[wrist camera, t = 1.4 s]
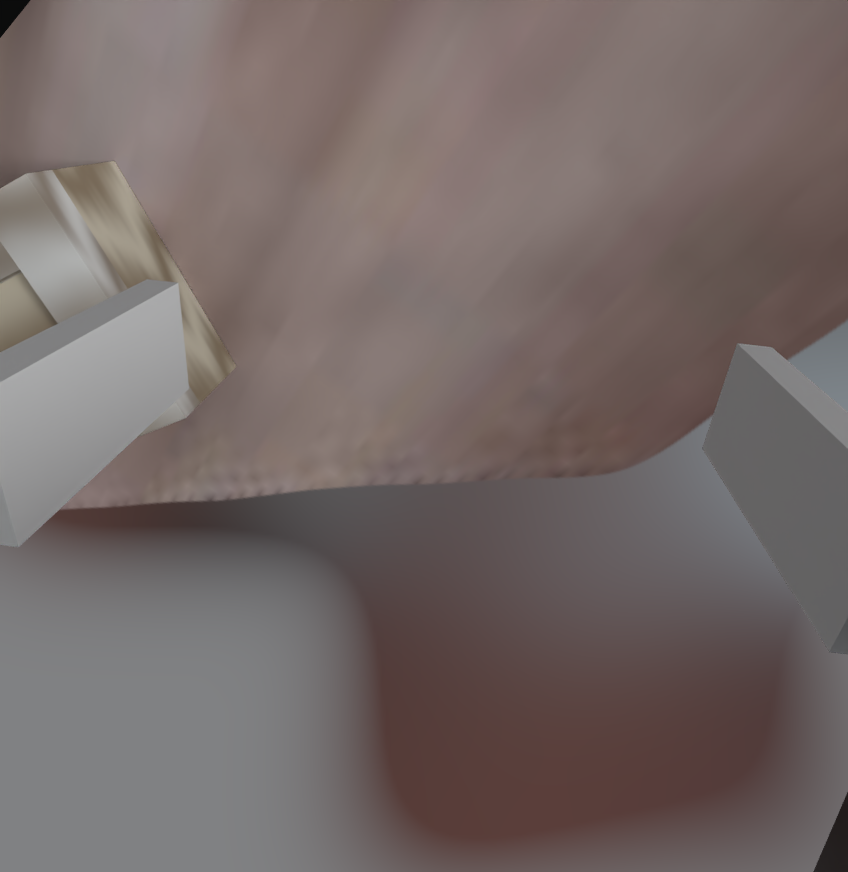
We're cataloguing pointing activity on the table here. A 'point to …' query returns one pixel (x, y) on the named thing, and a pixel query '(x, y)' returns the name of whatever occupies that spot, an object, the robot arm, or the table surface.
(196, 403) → the display stand
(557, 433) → the table surface
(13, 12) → the black box
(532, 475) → the table surface
